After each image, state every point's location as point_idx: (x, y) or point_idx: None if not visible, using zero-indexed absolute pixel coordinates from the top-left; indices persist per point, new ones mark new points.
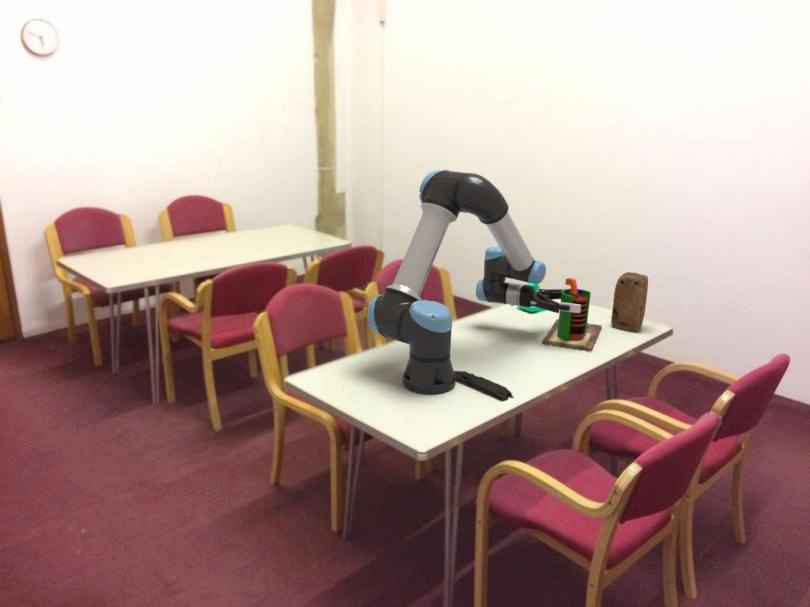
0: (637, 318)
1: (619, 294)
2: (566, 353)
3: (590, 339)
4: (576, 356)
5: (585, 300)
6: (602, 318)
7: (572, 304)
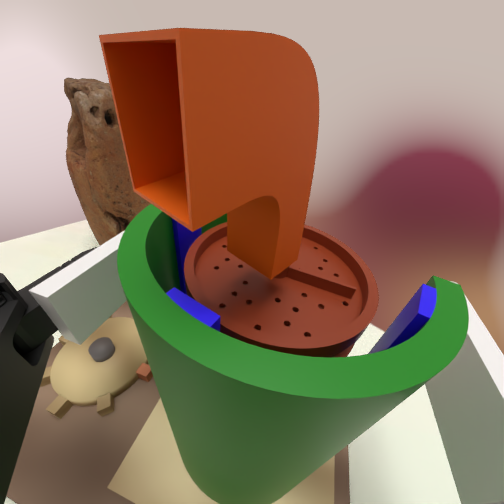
0: None
1: (121, 167)
2: (411, 477)
3: None
4: (417, 428)
5: (323, 239)
6: (45, 267)
7: (490, 336)
